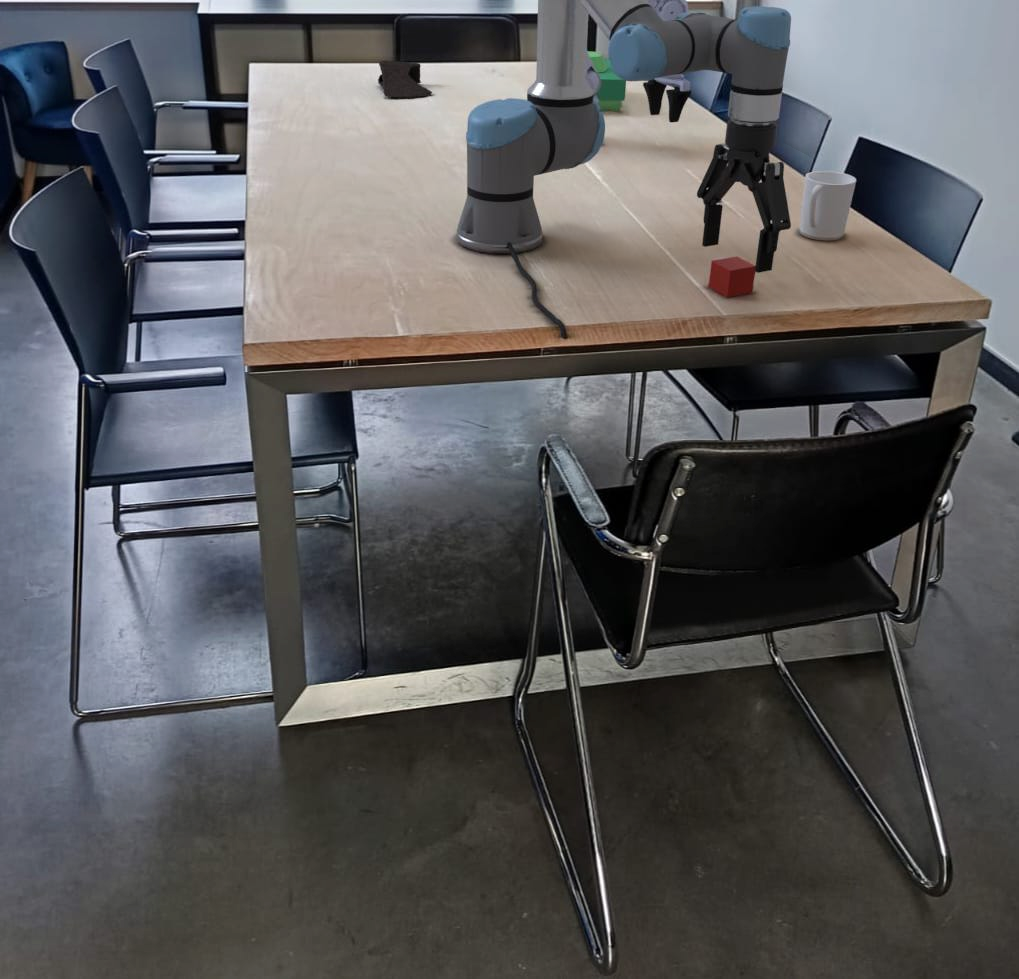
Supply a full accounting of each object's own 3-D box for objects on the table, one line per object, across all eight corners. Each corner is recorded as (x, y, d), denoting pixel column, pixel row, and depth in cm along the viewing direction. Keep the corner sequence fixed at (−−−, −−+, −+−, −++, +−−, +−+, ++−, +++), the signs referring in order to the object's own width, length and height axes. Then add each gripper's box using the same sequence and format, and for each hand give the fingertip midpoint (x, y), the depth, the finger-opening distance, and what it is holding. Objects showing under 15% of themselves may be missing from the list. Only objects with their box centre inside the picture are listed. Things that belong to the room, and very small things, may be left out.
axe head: (443, 87, 294) (392, 77, 287) (436, 115, 299) (385, 106, 292) (421, 62, 307) (371, 52, 300) (414, 89, 311) (365, 80, 304)
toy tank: (610, 40, 305) (627, 64, 275) (607, 86, 311) (623, 114, 282) (547, 38, 304) (557, 62, 274) (545, 84, 310) (555, 113, 281)
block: (752, 292, 177) (756, 265, 174) (726, 297, 174) (730, 270, 172) (733, 282, 180) (736, 256, 178) (708, 287, 178) (711, 260, 176)
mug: (809, 222, 208) (818, 168, 202) (854, 233, 203) (864, 177, 197) (782, 236, 200) (791, 180, 195) (827, 247, 195) (838, 190, 190)
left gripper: (829, 136, 155) (806, 278, 166) (722, 102, 174) (707, 232, 185) (788, 141, 152) (767, 286, 163) (683, 106, 171) (671, 238, 182)
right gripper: (704, 59, 239) (697, 123, 246) (666, 48, 250) (660, 109, 257) (677, 61, 236) (671, 126, 243) (640, 50, 247) (635, 112, 254)
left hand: (735, 257), depth 174 cm, fingers open, 13 cm apart
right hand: (664, 118), depth 250 cm, fingers open, 7 cm apart
